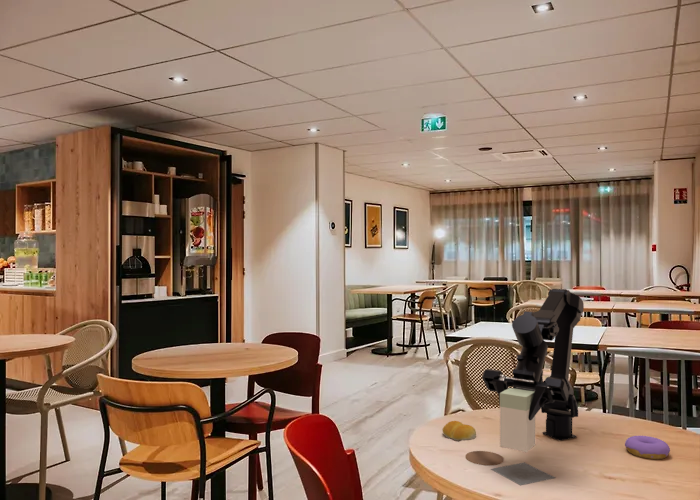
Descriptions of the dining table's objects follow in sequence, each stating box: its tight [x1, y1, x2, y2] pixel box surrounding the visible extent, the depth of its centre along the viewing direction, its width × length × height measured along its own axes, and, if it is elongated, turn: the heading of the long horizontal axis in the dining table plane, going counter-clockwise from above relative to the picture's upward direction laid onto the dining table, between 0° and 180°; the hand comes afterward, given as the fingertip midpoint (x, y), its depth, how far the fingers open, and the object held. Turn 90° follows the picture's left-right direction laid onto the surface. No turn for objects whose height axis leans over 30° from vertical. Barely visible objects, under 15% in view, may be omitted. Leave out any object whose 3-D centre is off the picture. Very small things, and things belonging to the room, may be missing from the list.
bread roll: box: [442, 420, 477, 442], centre depth 152 cm, size 8×9×4 cm
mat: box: [490, 461, 557, 486], centre depth 125 cm, size 10×10×1 cm
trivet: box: [465, 450, 505, 466], centre depth 134 cm, size 9×9×1 cm
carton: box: [499, 387, 536, 453], centre depth 125 cm, size 6×6×12 cm
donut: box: [624, 435, 671, 460], centre depth 139 cm, size 10×9×5 cm
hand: (515, 416), depth 124 cm, fingers closed on carton, 6 cm apart
